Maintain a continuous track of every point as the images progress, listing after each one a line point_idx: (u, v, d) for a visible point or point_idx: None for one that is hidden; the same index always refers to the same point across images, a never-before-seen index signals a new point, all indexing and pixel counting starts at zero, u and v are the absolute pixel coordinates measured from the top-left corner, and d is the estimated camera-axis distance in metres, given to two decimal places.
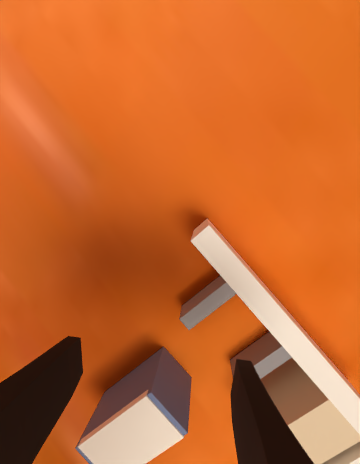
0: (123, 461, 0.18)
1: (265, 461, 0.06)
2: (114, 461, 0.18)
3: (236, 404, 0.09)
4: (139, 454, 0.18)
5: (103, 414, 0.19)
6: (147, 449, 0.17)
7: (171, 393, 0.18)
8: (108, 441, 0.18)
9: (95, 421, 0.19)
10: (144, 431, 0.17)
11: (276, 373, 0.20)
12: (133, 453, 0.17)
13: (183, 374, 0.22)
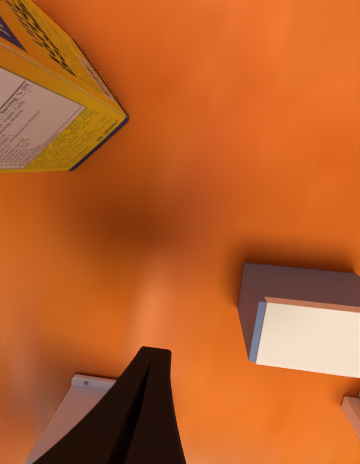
0: (294, 352, 0.13)
1: (133, 437, 0.06)
2: (287, 346, 0.13)
3: None
4: (319, 359, 0.13)
5: (288, 290, 0.14)
6: (337, 362, 0.13)
7: None
8: (308, 324, 0.13)
9: (274, 289, 0.14)
10: (358, 346, 0.13)
11: None
12: (317, 355, 0.13)
13: None
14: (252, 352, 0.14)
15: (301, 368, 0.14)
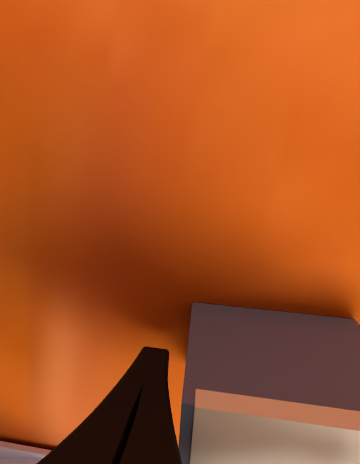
0: None
1: (129, 437, 0.06)
2: None
3: None
4: None
5: (244, 366, 0.09)
6: None
7: None
8: (270, 445, 0.07)
9: (220, 366, 0.08)
10: None
11: None
12: None
13: None
14: None
15: None
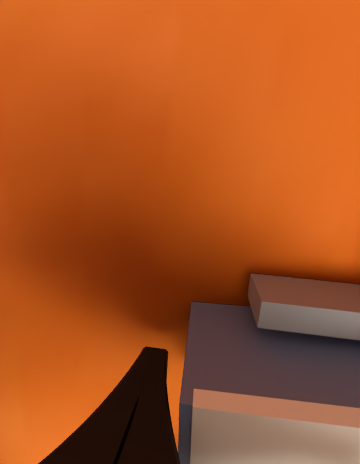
0: None
1: (127, 437, 0.06)
2: None
3: None
4: None
5: (242, 365, 0.08)
6: None
7: None
8: (269, 444, 0.07)
9: (218, 365, 0.08)
10: None
11: None
12: None
13: None
14: None
15: None
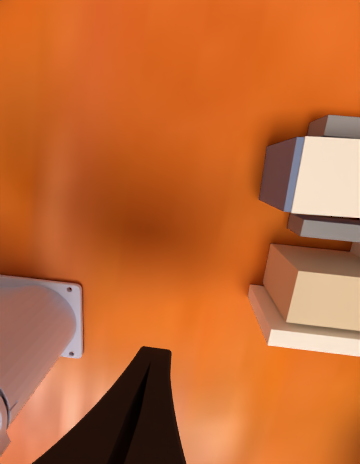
0: (330, 197, 0.13)
1: (133, 438, 0.06)
2: (324, 188, 0.13)
3: None
4: (355, 203, 0.13)
5: None
6: None
7: None
8: (346, 160, 0.13)
9: None
10: None
11: (324, 252, 0.18)
12: (354, 196, 0.13)
13: None
14: (288, 200, 0.13)
15: (337, 214, 0.13)
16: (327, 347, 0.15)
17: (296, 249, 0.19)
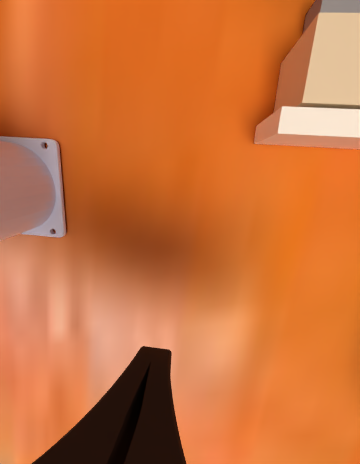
0: None
1: (133, 437, 0.06)
2: None
3: None
4: None
5: None
6: None
7: None
8: None
9: None
10: None
11: None
12: None
13: None
14: None
15: None
16: (359, 129, 0.11)
17: None
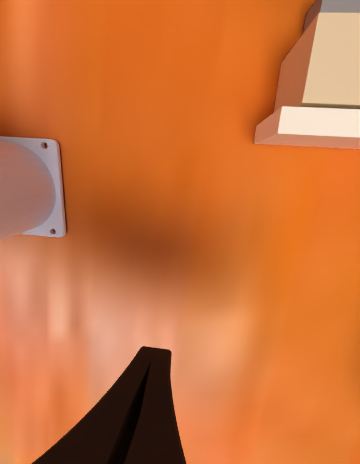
0: None
1: (133, 437, 0.06)
2: None
3: None
4: None
5: None
6: None
7: None
8: None
9: None
10: None
11: None
12: None
13: None
14: None
15: None
16: (359, 129, 0.11)
17: None
